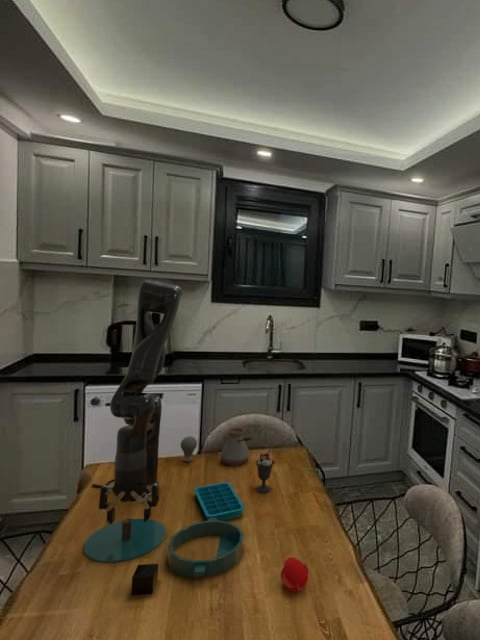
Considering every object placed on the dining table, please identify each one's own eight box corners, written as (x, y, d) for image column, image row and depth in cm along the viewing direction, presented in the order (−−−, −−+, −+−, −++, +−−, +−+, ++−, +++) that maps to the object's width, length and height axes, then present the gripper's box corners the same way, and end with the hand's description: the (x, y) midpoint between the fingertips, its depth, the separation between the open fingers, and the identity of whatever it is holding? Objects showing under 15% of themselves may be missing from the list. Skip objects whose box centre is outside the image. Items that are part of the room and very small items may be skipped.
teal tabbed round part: (156, 589, 102) (157, 571, 102) (178, 531, 126) (179, 516, 125) (238, 583, 107) (239, 566, 106) (245, 528, 130) (245, 514, 130)
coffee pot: (215, 458, 176) (217, 423, 175) (242, 453, 183) (244, 419, 182) (234, 479, 160) (237, 440, 158) (264, 473, 167) (266, 435, 166)
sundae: (270, 494, 151) (273, 453, 150) (251, 492, 151) (253, 451, 150) (275, 485, 158) (277, 446, 156) (256, 484, 158) (259, 444, 156)
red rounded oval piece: (313, 587, 107) (315, 564, 107) (294, 599, 103) (296, 575, 102) (294, 571, 113) (295, 549, 112) (275, 581, 108) (276, 559, 108)
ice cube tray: (228, 489, 152) (228, 481, 152) (245, 517, 135) (245, 508, 135) (193, 496, 145) (193, 487, 145) (206, 527, 129) (207, 517, 129)
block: (131, 597, 99) (131, 577, 99) (137, 584, 103) (138, 564, 103) (152, 596, 100) (153, 576, 100) (157, 582, 105) (158, 563, 104)
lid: (69, 567, 107) (70, 544, 107) (100, 523, 126) (101, 503, 126) (155, 562, 112) (156, 540, 111) (172, 520, 131) (173, 501, 130)
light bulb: (199, 460, 174) (200, 436, 173) (188, 465, 168) (189, 440, 167) (187, 457, 175) (188, 433, 175) (176, 462, 170) (177, 437, 169)
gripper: (162, 458, 123) (160, 512, 124) (106, 459, 119) (105, 515, 120) (155, 469, 115) (153, 527, 116) (96, 471, 112) (94, 530, 113)
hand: (129, 521), depth 118 cm, fingers open, 8 cm apart
